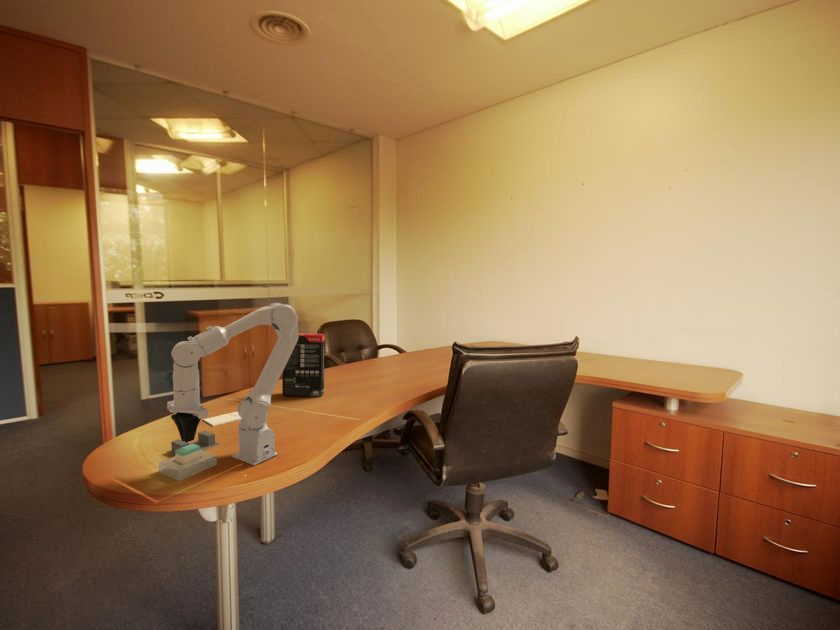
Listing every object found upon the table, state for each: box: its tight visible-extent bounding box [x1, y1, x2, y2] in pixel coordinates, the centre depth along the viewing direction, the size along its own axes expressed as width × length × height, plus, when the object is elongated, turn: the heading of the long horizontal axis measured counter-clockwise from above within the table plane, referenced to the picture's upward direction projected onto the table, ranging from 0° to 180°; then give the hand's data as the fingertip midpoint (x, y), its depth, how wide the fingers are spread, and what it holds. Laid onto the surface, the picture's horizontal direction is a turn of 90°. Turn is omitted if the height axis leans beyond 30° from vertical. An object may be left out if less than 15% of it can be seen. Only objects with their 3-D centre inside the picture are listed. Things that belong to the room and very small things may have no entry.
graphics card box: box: [281, 332, 326, 398], centre depth 168 cm, size 17×7×27 cm, turn 94°
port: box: [158, 449, 218, 482], centre depth 100 cm, size 9×10×3 cm
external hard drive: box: [202, 411, 242, 427], centre depth 137 cm, size 2×8×12 cm
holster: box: [166, 430, 220, 456], centre depth 112 cm, size 8×11×4 cm
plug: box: [174, 444, 200, 465], centre depth 100 cm, size 3×4×6 cm
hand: (187, 440), depth 100 cm, fingers closed
